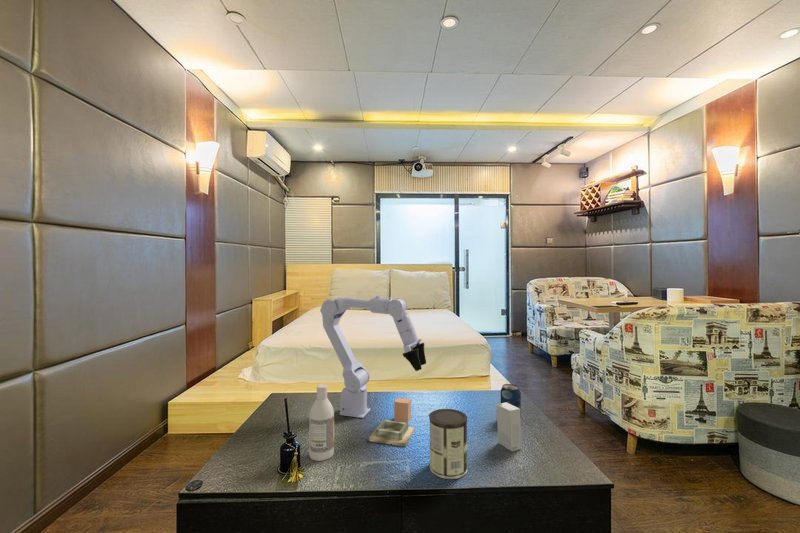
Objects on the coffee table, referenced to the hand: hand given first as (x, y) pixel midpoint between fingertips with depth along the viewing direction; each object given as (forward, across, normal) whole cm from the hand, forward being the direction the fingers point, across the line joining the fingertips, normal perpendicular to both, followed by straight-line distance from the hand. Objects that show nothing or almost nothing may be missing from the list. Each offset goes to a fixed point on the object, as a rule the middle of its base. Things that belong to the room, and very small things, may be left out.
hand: (421, 367), depth 121 cm
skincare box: (+30, -8, -19) cm, 36 cm away
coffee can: (+24, -25, -4) cm, 35 cm away
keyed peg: (+15, 0, +14) cm, 21 cm away
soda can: (+30, +11, -20) cm, 38 cm away
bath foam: (+9, -29, +29) cm, 42 cm away
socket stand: (+15, -12, +14) cm, 24 cm away
